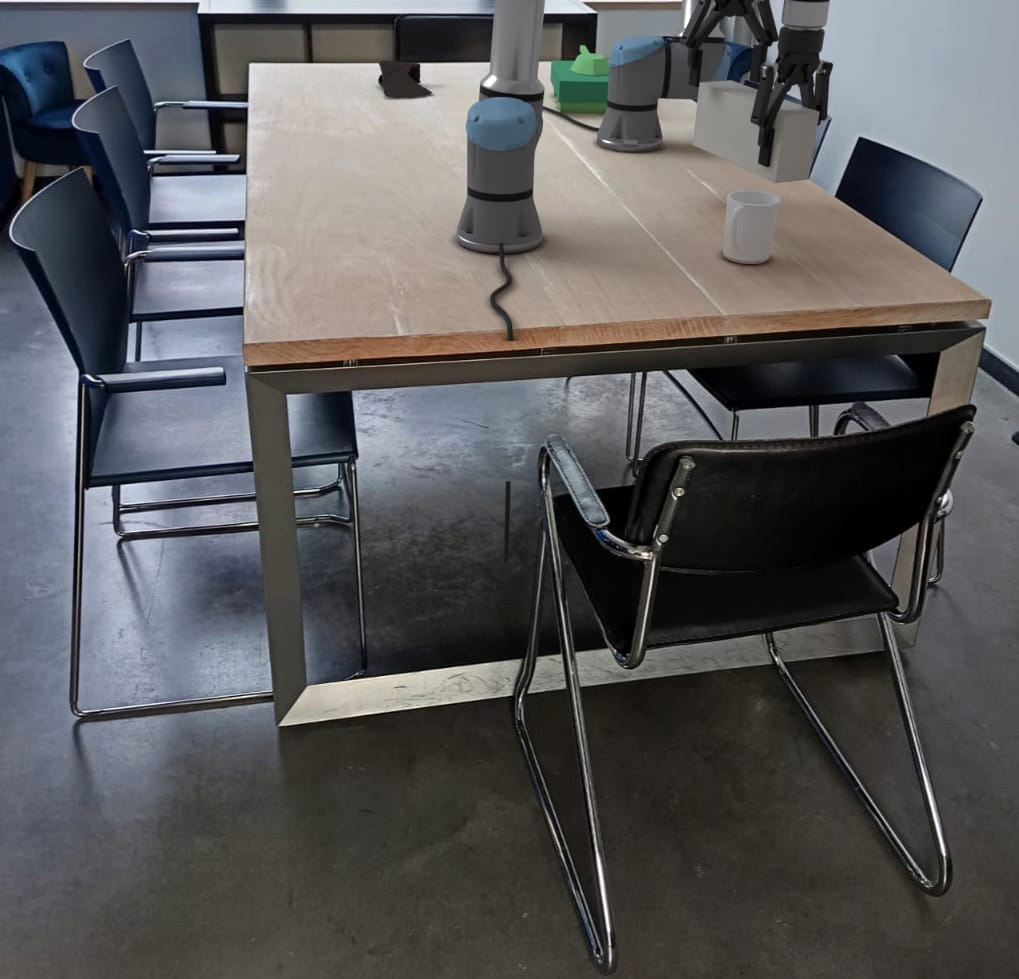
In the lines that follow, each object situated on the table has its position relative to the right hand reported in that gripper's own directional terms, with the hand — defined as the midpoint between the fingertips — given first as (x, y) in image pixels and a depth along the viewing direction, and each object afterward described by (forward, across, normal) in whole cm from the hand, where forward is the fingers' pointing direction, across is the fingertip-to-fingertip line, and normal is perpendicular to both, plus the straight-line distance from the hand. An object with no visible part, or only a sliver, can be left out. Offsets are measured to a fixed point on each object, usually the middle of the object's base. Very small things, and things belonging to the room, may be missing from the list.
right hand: (724, 83), depth 209 cm
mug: (+22, +14, +32) cm, 42 cm away
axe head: (+21, +28, -115) cm, 120 cm away
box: (+12, 0, +11) cm, 16 cm away
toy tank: (+21, -15, -87) cm, 91 cm away
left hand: (+10, 0, +21) cm, 23 cm away
